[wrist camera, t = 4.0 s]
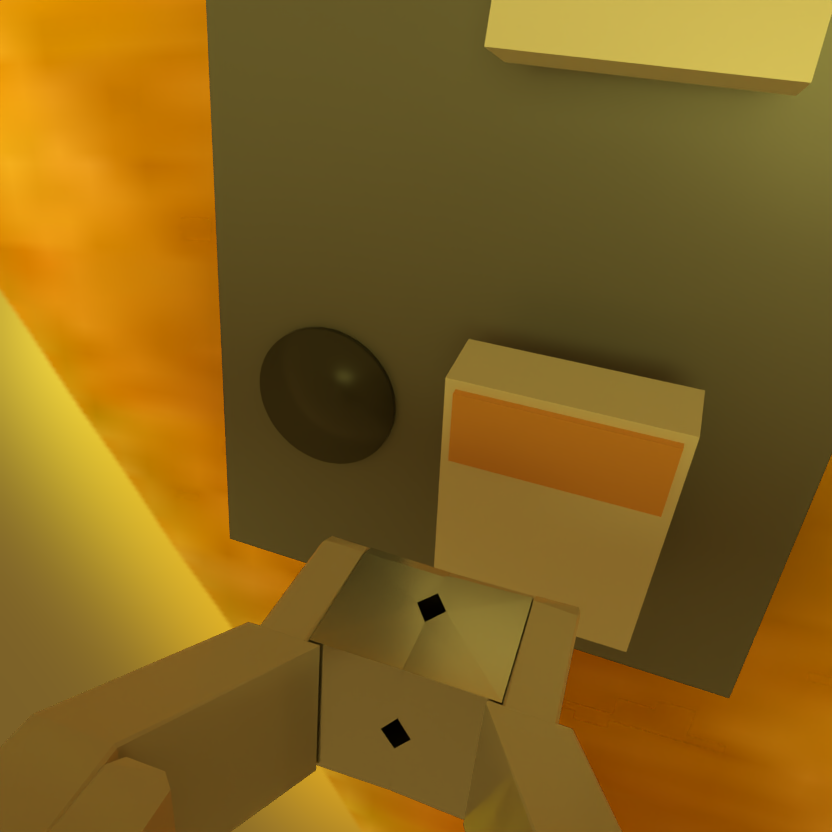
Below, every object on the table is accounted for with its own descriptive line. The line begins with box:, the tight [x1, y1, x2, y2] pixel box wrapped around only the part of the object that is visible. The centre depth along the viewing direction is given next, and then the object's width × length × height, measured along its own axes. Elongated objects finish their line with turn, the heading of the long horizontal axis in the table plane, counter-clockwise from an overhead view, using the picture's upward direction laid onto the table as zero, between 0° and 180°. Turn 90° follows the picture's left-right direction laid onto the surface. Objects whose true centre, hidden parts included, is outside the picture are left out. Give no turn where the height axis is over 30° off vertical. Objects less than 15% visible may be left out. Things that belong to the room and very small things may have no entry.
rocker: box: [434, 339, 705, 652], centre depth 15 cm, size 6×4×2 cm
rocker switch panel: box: [206, 0, 832, 698], centre depth 16 cm, size 22×14×4 cm, turn 174°
